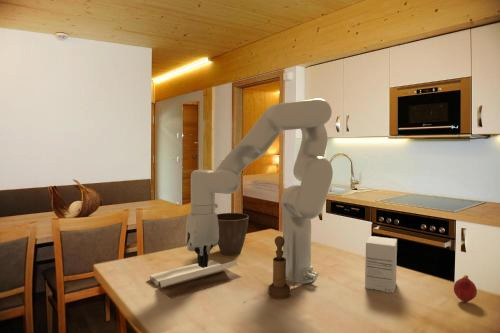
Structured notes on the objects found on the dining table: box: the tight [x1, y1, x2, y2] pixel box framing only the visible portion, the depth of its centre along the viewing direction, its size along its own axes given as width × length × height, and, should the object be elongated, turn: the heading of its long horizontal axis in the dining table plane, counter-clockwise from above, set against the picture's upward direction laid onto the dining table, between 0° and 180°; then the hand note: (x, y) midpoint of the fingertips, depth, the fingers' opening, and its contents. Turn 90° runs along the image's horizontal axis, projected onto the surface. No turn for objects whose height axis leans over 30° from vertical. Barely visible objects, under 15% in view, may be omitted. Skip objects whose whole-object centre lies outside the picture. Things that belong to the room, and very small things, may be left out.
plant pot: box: [216, 212, 249, 256], centre depth 147 cm, size 15×15×16 cm
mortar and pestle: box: [267, 235, 291, 300], centre depth 109 cm, size 7×6×18 cm
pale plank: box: [160, 260, 239, 287], centre depth 116 cm, size 9×24×2 cm, turn 129°
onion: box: [453, 274, 478, 303], centre depth 104 cm, size 6×6×8 cm
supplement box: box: [364, 235, 398, 294], centre depth 116 cm, size 9×9×15 cm
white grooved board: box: [147, 259, 242, 300], centre depth 119 cm, size 17×26×3 cm, turn 129°
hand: (202, 266), depth 115 cm, fingers closed
